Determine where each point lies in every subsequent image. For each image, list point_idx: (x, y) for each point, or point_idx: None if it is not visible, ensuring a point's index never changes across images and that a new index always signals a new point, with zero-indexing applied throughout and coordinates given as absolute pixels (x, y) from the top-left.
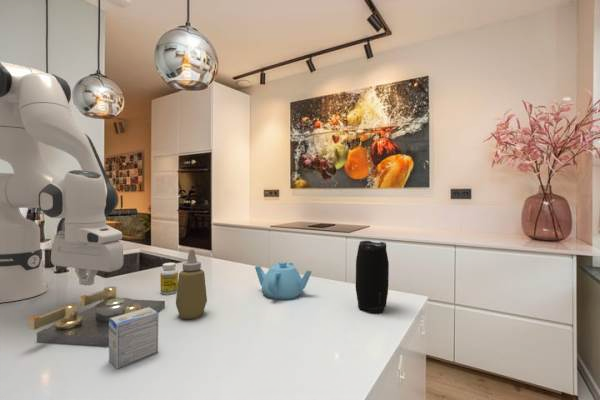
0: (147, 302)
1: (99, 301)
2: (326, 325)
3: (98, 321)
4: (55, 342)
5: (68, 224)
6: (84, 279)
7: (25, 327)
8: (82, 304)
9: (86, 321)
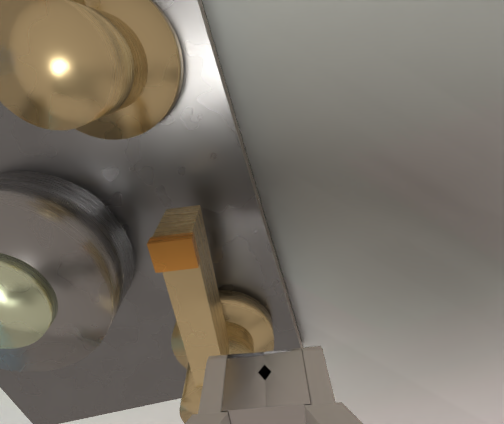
0: (85, 396)
1: (258, 316)
2: None
3: (23, 168)
4: None
5: None
6: (249, 403)
7: (457, 6)
8: (181, 211)
9: (82, 140)
